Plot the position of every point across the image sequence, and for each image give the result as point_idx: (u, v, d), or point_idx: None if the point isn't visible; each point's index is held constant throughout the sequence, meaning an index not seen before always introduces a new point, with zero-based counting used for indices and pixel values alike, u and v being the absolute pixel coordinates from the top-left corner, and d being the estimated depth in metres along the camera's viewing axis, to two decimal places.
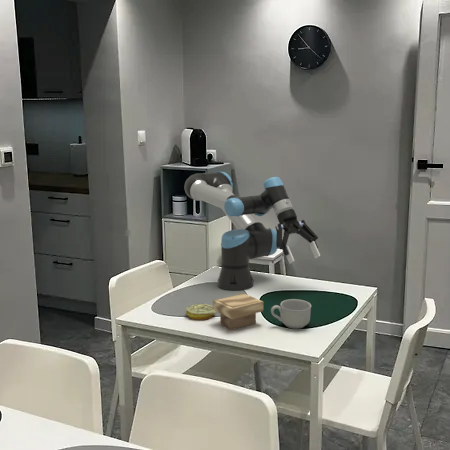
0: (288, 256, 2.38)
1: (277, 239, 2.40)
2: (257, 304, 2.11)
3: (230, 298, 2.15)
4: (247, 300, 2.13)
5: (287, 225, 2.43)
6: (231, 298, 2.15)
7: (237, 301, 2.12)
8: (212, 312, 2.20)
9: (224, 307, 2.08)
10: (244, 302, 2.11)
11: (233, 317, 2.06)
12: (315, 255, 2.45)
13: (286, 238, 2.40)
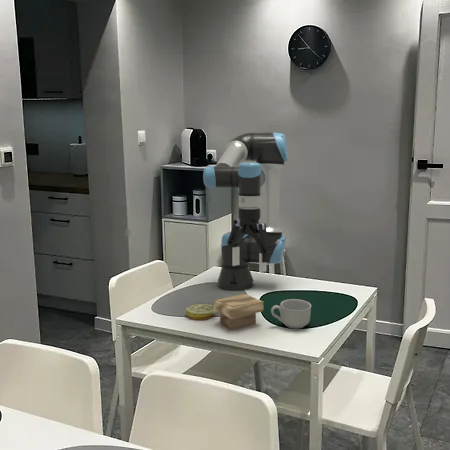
0: None
1: None
2: (257, 304, 2.11)
3: (230, 298, 2.15)
4: (247, 300, 2.13)
5: (242, 225, 2.11)
6: (231, 298, 2.15)
7: (237, 301, 2.12)
8: (212, 312, 2.20)
9: (224, 307, 2.08)
10: (244, 302, 2.11)
11: (233, 317, 2.06)
12: None
13: (235, 239, 2.15)
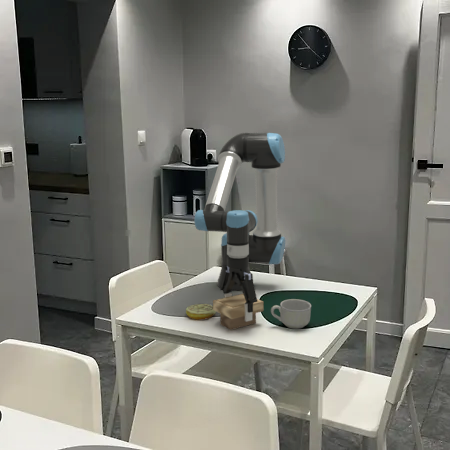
0: None
1: None
2: (257, 304, 2.11)
3: (230, 298, 2.15)
4: None
5: (231, 271, 2.13)
6: (231, 298, 2.15)
7: (237, 301, 2.12)
8: (212, 312, 2.20)
9: (224, 307, 2.08)
10: (245, 302, 2.11)
11: (233, 317, 2.06)
12: None
13: (226, 285, 2.16)
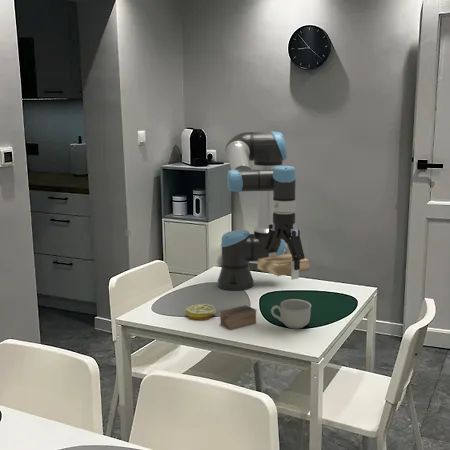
0: None
1: None
2: (304, 262, 2.06)
3: (275, 257, 2.10)
4: None
5: None
6: (276, 257, 2.10)
7: (283, 259, 2.07)
8: (212, 312, 2.20)
9: (270, 264, 2.04)
10: (290, 260, 2.06)
11: (279, 274, 2.01)
12: None
13: (271, 244, 2.11)
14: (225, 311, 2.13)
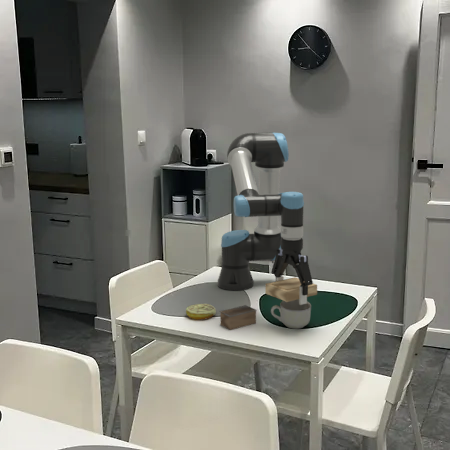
0: None
1: None
2: (311, 287, 2.08)
3: (283, 281, 2.12)
4: (300, 283, 2.09)
5: (284, 254, 2.09)
6: (284, 281, 2.12)
7: (291, 284, 2.09)
8: (212, 312, 2.20)
9: (278, 290, 2.05)
10: (298, 285, 2.08)
11: (288, 300, 2.02)
12: None
13: (278, 269, 2.13)
14: (225, 311, 2.13)
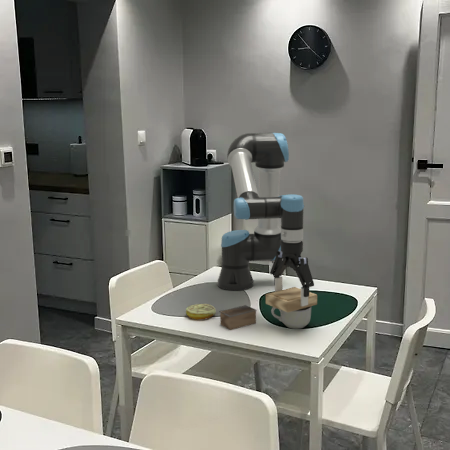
0: None
1: None
2: (312, 297, 2.09)
3: (283, 291, 2.12)
4: None
5: (284, 257, 2.10)
6: (284, 291, 2.12)
7: (291, 294, 2.09)
8: (212, 312, 2.20)
9: (279, 300, 2.06)
10: (299, 295, 2.08)
11: (289, 310, 2.03)
12: None
13: (278, 270, 2.13)
14: (225, 311, 2.13)
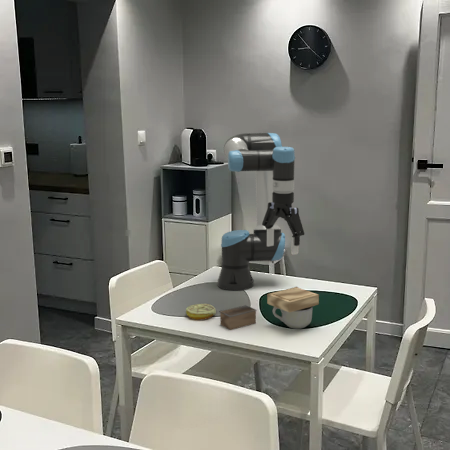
0: None
1: None
2: (313, 297, 2.09)
3: (284, 291, 2.12)
4: (302, 293, 2.10)
5: (275, 208, 2.16)
6: (285, 291, 2.12)
7: (293, 294, 2.09)
8: (212, 312, 2.20)
9: (281, 300, 2.06)
10: (300, 295, 2.08)
11: (291, 310, 2.03)
12: None
13: (269, 221, 2.20)
14: (225, 311, 2.13)
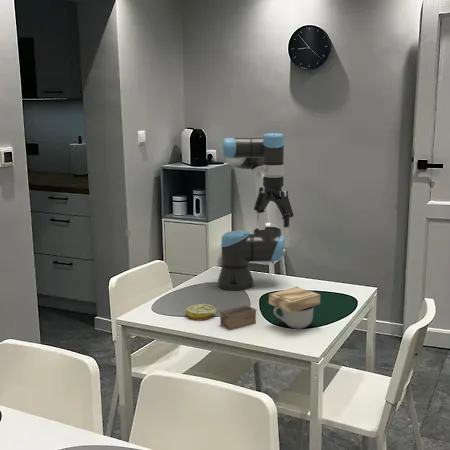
0: None
1: None
2: (315, 297, 2.09)
3: (286, 291, 2.12)
4: (304, 293, 2.10)
5: None
6: (287, 291, 2.12)
7: (294, 294, 2.09)
8: (212, 312, 2.20)
9: (282, 300, 2.06)
10: (302, 295, 2.08)
11: (292, 310, 2.03)
12: None
13: (261, 205, 2.30)
14: (225, 311, 2.13)
